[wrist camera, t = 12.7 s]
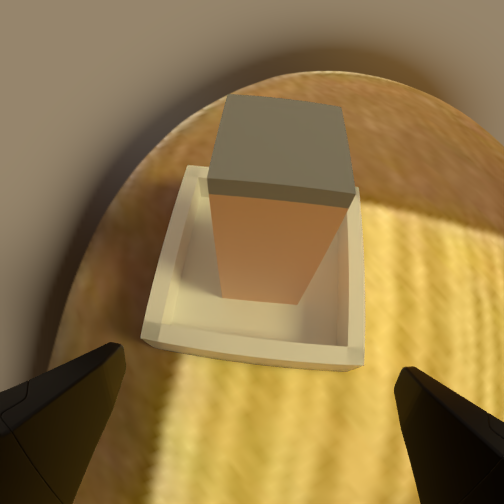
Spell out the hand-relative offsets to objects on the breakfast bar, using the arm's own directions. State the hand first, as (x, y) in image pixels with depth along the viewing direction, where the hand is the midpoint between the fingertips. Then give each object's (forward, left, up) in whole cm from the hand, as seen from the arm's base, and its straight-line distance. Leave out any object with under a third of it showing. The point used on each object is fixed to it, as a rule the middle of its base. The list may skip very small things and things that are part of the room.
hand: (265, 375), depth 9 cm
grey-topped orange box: (+3, +7, -9) cm, 12 cm away
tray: (+3, +7, -9) cm, 12 cm away
